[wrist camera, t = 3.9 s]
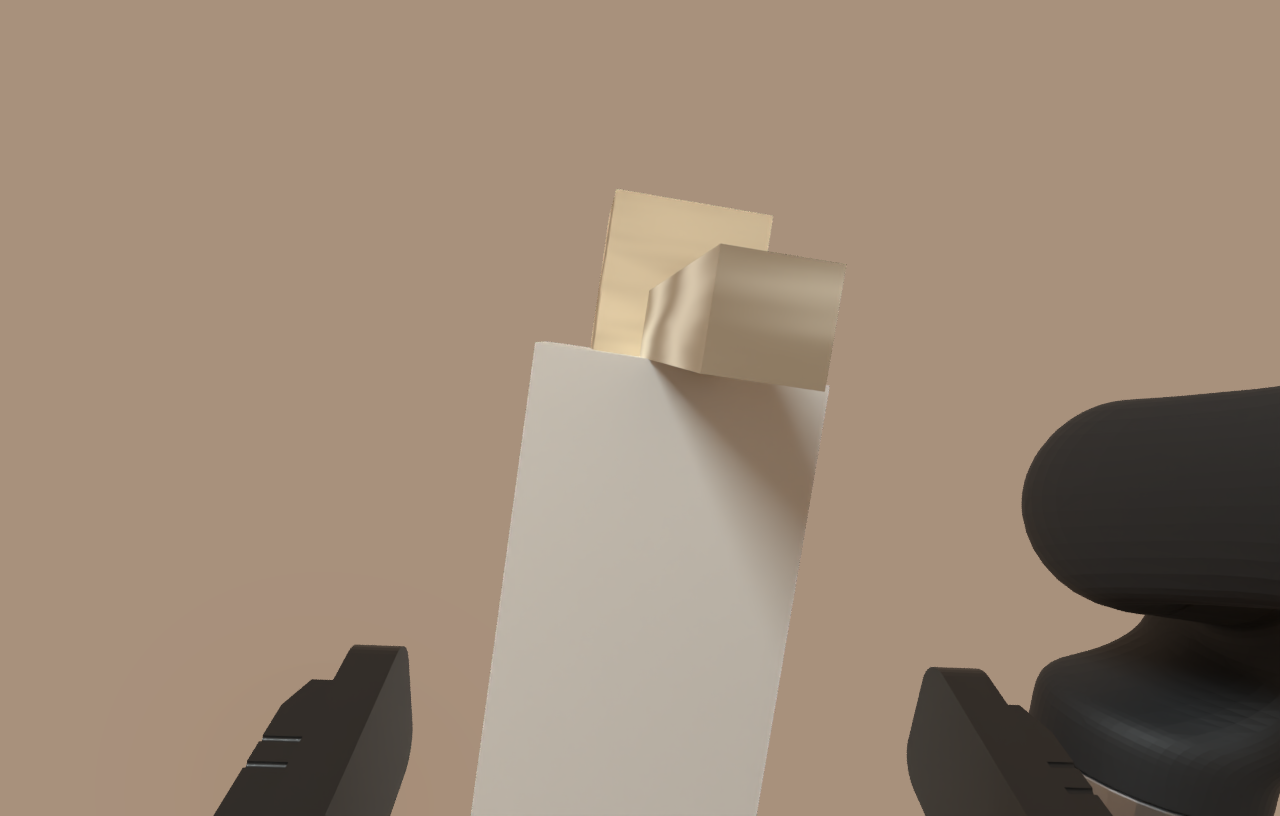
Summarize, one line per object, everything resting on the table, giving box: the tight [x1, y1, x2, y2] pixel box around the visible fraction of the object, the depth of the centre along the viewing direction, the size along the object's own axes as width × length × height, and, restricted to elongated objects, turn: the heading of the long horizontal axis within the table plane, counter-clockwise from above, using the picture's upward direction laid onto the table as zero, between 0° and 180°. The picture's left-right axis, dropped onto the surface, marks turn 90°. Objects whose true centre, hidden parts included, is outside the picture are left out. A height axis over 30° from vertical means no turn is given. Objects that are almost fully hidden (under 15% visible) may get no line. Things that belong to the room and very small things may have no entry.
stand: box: [471, 341, 830, 816], centre depth 30 cm, size 10×10×32 cm
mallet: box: [590, 189, 846, 392], centre depth 23 cm, size 20×6×6 cm, turn 4°
